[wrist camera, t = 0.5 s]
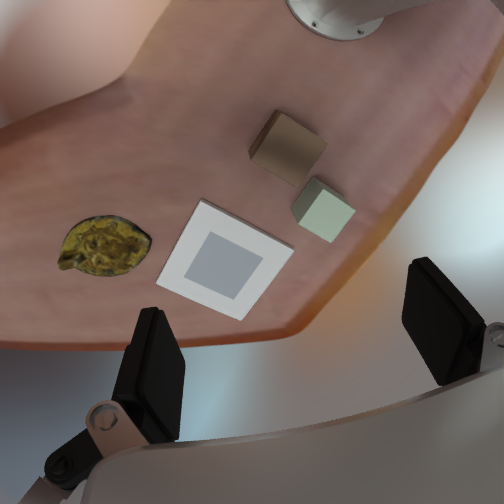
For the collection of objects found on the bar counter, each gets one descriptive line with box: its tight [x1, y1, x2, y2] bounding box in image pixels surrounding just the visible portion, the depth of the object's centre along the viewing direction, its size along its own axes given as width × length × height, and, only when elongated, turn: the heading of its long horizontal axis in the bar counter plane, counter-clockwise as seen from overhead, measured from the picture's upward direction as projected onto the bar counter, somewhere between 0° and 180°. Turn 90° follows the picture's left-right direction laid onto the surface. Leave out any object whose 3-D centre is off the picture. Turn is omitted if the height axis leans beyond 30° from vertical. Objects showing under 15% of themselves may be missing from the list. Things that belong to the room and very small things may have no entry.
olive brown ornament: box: [58, 215, 151, 277], centre depth 40 cm, size 9×5×15 cm
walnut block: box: [248, 110, 328, 188], centre depth 35 cm, size 6×6×5 cm
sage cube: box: [291, 177, 356, 243], centre depth 39 cm, size 5×5×5 cm
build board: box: [156, 198, 295, 321], centre depth 44 cm, size 14×14×1 cm
